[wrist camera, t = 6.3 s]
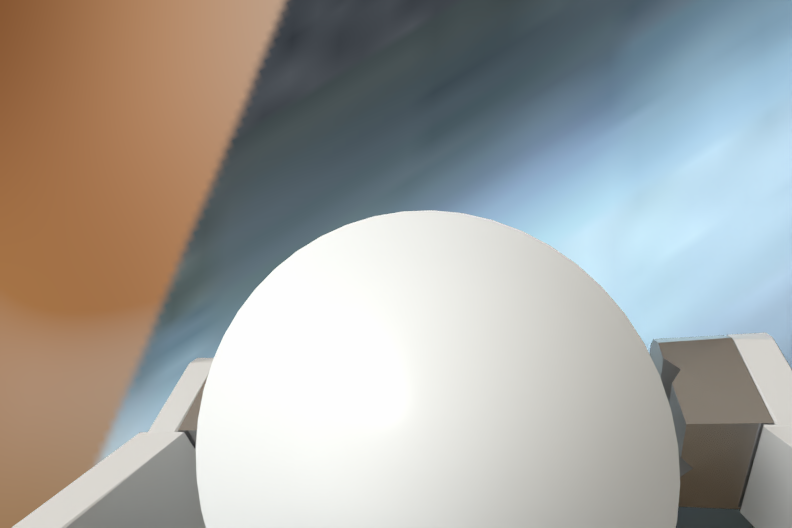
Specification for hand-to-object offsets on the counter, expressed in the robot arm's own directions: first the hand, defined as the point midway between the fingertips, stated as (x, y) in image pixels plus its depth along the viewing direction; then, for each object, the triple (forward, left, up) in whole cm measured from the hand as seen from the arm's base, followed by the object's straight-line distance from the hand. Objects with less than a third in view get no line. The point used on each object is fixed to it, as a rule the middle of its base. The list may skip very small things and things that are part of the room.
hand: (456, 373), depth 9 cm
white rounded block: (0, 0, -5) cm, 5 cm away
